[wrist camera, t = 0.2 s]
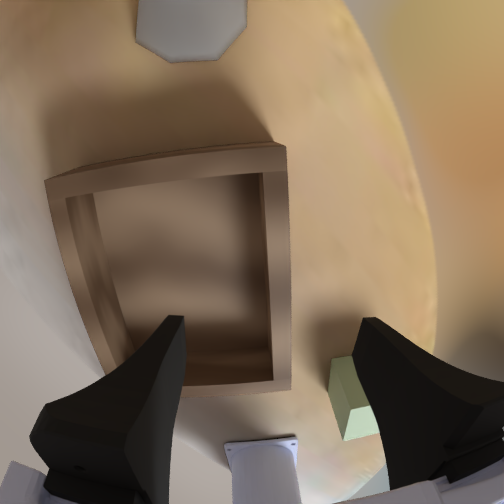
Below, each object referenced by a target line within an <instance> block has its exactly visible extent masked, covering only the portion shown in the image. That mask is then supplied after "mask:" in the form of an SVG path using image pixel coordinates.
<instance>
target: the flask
mask: <svg viewBox="0 0 504 504" xmlns="http://www.w3.org/2000/svg"><path fill="white" fill-rule="evenodd" d="M246 27H247V0H139V4H138V15H137V28H136V43H138V44H139V45H141V46H143V47H145V48H146V49H148V50H150V51H151V52H153V53H155V54H157V55H158V56H160V57H162V58H163V59H165V60H166V61H168V62H170V63H174V62H188V61H208V60H218V59H219V58H220V57H221V55H222V54H223V53H224V52H225V51H226V50H227V48H228V47H229V46H230V45H231V44H232V43H233V42H234V40H235V39H236V38H237V37H238V36H239V35H240V34H241V33H242V32H243V30H244V29H245V28H246Z"/></svg>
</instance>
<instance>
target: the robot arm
mask: <svg viewBox="0 0 504 504" xmlns="http://www.w3.org/2000/svg"><path fill="white" fill-rule="evenodd" d="M186 358H187V353H186V338H185V322H184V316H181V315H168V316H167V317H166V318H165V319H164V320H163V322H162V323H161V324H160V325H159V326H158V328H157V329H156V330H155V331H154V332H153V333H152V335H151V336H150V337H149V338H148V339H147V340H146V341H145V342H144V343H143V344H142V345H141V346H140V347H139V348H138V349H137V350H136V351H135V352H134V353H133V354H132V355H131V356H130V357H129V358H128V359H127V360H126V361H124V362H123V363H122V364H121V365H120V366H118V367H117V368H116V369H114V370H113V371H112V372H110V373H109V374H107V375H106V376H104V377H103V378H101V379H99V380H98V381H96V382H95V383H93V384H91V385H90V386H88V387H86V388H84V389H82V390H80V391H78V392H76V393H73V394H71V395H69V396H66V397H64V398H61V399H58V400H56V401H53V402H50V403H47V404H45V406H44V407H43V409H42V411H41V412H40V414H39V417H38V419H37V421H36V423H35V425H34V427H33V429H32V431H31V434H30V436H29V437H30V442H31V444H32V446H33V447H34V449H35V450H36V452H37V453H38V454H39V456H40V457H41V458H42V460H43V461H44V462H45V463H46V465H47V466H48V467H49V471H48V474H47V476H46V475H45V474H43V473H42V472H40V471H38V470H36V469H33V468H30V467H28V466H25V465H22V464H20V463H18V462H15V461H11V463H10V465H9V467H8V469H7V472H6V474H5V477H4V479H3V482H2V485H1V487H0V504H169V477H170V476H169V475H170V460H171V447H172V436H173V428H174V422H175V417H176V413H177V408H178V404H179V400H180V395H181V391H182V386H183V382H184V377H185V368H186ZM352 358H353V362H354V366H355V370H356V373H357V376H358V379H359V381H360V383H361V386H362V388H363V390H364V393H365V395H366V397H367V400H368V402H369V404H370V407H371V409H372V411H373V414H374V416H375V419H376V422H377V425H378V428H379V432H380V436H381V440H382V444H383V448H384V453H385V458H386V463H387V469H388V476H389V485H390V491H387V492H383V493H379V494H375V495H371V496H366V497H362V498H357V499H352V500H347V501H342V502H338V503H334V504H504V441H503V439H502V438H503V437H504V431H503V429H502V427H503V426H504V382H500V381H496V380H491V379H487V378H484V377H480V376H477V375H474V374H471V373H468V372H466V371H463V370H461V369H458V368H456V367H454V366H452V365H450V364H448V363H446V362H444V361H442V360H440V359H438V358H436V357H435V356H433V355H431V354H429V353H428V352H426V351H425V350H423V349H422V348H420V347H418V346H417V345H415V344H414V343H413V342H411V341H410V340H408V339H407V338H405V337H404V336H403V335H401V334H400V333H398V332H397V331H396V330H394V329H393V328H391V327H390V326H389V325H387V324H386V323H384V322H383V321H381V320H380V319H378V318H376V317H367V318H363V319H362V323H361V326H360V330H359V333H358V337H357V340H356V343H355V347H354V350H353V353H352ZM297 448H298V439H297V438H296V437H290V438H282V439H273V440H263V441H251V442H236V443H226V444H224V449H225V452H226V456H227V459H228V463H229V466H230V470H231V473H232V495H233V504H302V502H301V496H300V490H299V484H298V479H297V473H296V461H297Z"/></svg>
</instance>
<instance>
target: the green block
mask: <svg viewBox="0 0 504 504" xmlns="http://www.w3.org/2000/svg"><path fill="white" fill-rule="evenodd" d="M328 395H329V398H330V401H331V404H332V408H333V411H334V414H335V417H336V420H337V423H338V427H339V430H340V433H341V436H342V439H343V441H346V440H351V439H355V438H360V437H364V436H368V435H372V434H376V433H380V432H379V428H378V425H377V422H376V419H375V416H374V414H373V411H372V409H371V407H370V404H369V402H368V400H367V397H366V395H365V393H364V390H363V388H362V386H361V383H360V381H359V379H358V376H357V373H356V370H355V366H354V362H353V358H352V355H351V356H345V357H339V358H332V360H331V369H330V377H329V385H328Z"/></svg>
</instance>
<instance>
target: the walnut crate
mask: <svg viewBox="0 0 504 504" xmlns="http://www.w3.org/2000/svg"><path fill="white" fill-rule="evenodd" d="M44 182H45V188H46V193H47V198H48V203H49V208H50V212H51V217H52V221H53V225H54V229H55V233H56V237H57V241H58V245H59V249H60V252H61V256H62V259H63V263H64V266H65V270H66V273H67V276H68V279H69V282H70V286H71V289H72V292H73V295H74V297H75V300H76V303H77V306H78V309H79V312H80V314H81V317H82V320H83V322H84V325H85V328H86V330H87V333H88V335H89V338H90V340H91V343H92V345H93V347H94V350H95V352H96V354H97V357H98V359H99V361H100V364H101V366H102V368H103V370H104V372H105V375H107V374H109V373H110V372H112V371H113V370H114V369H116V368H117V367H118V366H120V365H121V364H122V363H123V362H124V361H126V360H127V359H128V358H129V357H130V356H131V355H132V354H133V353H134V352H135V351H136V350H137V349H138V348H139V347H140V346H141V345H142V344H143V343H144V342H145V341H146V340H147V339H148V338H149V337H150V336H151V335H152V333H153V332H154V331H155V330H156V329H157V328H158V326H159V325H160V324H161V323H162V322H163V320H164V319H165V318H166V317H167V316H168V315H181V316H184V322H185V338H186V353H187V358H186V368H185V377H184V382H183V386H182V391H181V395H180V397H214V396H232V395H246V394H258V393H268V392H277V391H286V390H291V259H290V223H289V197H288V174H287V154H286V146H284V145H281V144H279V143H277V142H259V143H245V144H233V145H222V146H212V147H202V148H193V149H185V150H177V151H170V152H163V153H156V154H149V155H143V156H137V157H131V158H125V159H119V160H114V161H108V162H103V163H98V164H93V165H88V166H84V167H79V168H76V169H73V170H70V171H68V172H65V173H62V174H60V175H57V176H54V177H52V178H49V179H47V180H44Z"/></svg>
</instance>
